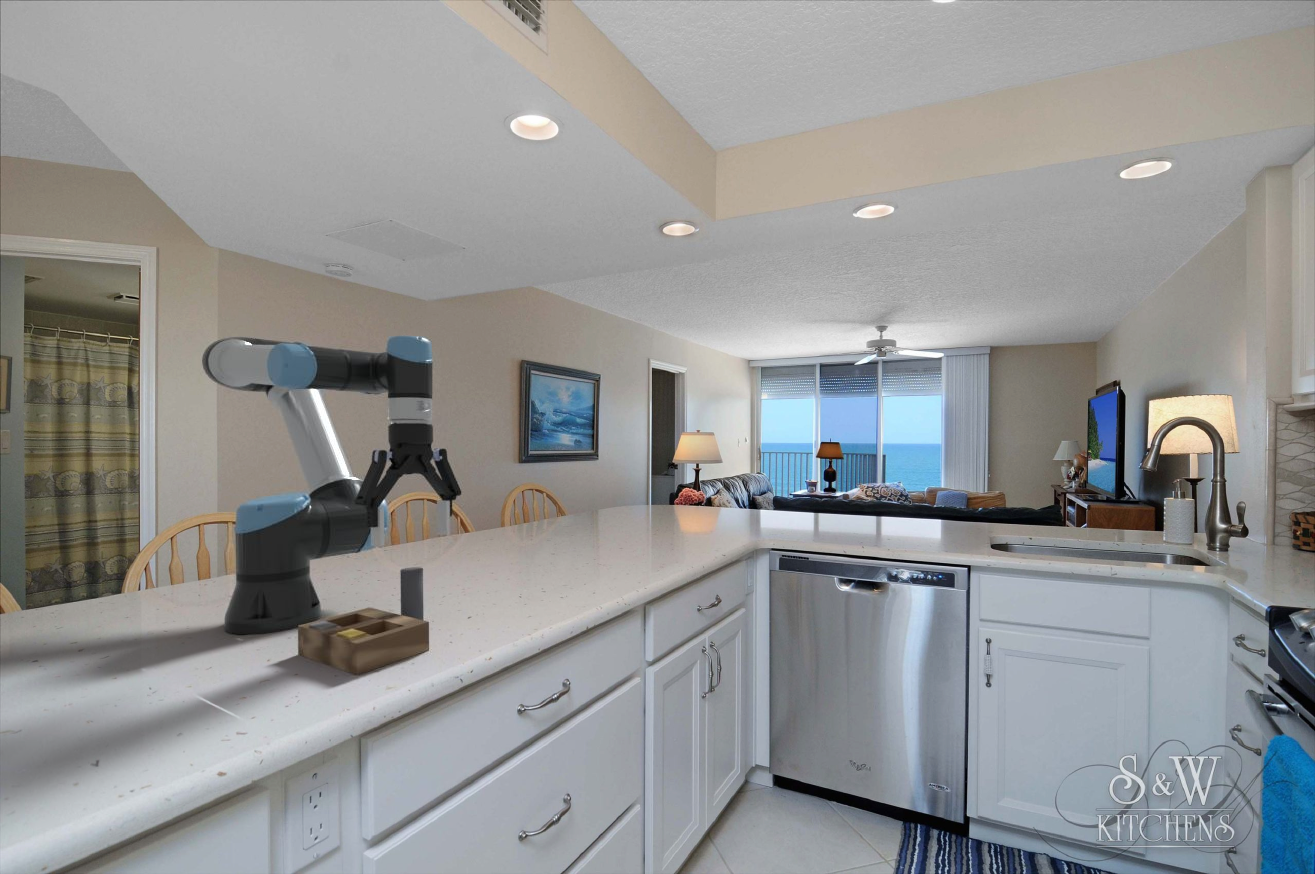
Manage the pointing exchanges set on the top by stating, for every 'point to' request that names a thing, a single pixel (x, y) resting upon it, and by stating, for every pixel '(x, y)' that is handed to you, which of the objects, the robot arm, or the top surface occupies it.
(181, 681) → the top surface
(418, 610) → the plug
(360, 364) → the robot arm
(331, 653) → the socket board
